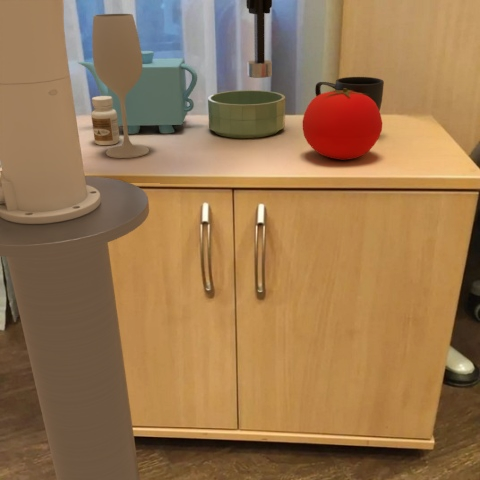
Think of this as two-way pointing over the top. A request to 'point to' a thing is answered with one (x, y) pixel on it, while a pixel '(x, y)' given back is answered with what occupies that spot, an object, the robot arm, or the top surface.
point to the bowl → (246, 113)
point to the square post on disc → (259, 48)
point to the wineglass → (118, 67)
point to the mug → (358, 87)
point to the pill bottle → (104, 121)
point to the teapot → (153, 94)
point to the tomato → (342, 124)
